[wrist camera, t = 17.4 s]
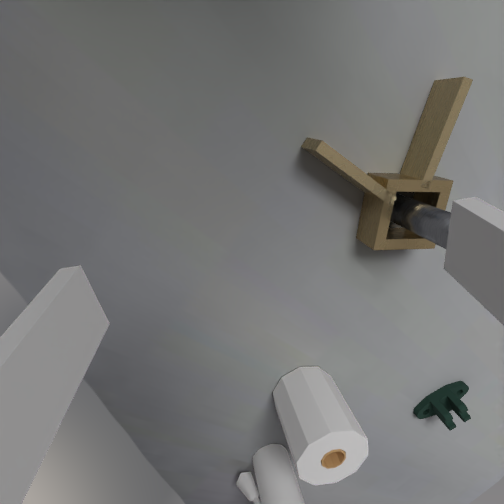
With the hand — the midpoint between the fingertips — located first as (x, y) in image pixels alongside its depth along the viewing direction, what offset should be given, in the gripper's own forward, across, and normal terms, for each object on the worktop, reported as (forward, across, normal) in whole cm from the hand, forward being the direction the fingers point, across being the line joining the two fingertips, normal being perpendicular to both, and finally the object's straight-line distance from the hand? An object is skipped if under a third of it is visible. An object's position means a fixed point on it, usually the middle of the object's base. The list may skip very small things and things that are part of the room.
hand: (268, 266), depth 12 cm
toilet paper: (+26, +2, -41) cm, 49 cm away
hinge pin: (+31, +18, -13) cm, 38 cm away
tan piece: (+31, +15, -7) cm, 35 cm away
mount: (+30, +28, -54) cm, 67 cm away
